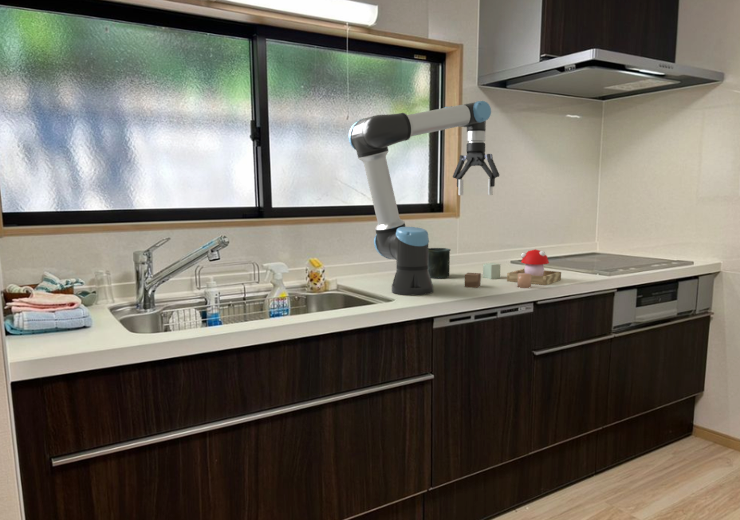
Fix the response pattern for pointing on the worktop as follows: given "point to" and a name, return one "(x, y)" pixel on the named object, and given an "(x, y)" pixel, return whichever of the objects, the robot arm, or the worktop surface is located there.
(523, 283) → the peach rounded block
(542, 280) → the bamboo tray
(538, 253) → the mushroom
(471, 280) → the walnut block
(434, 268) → the mug
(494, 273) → the sage block
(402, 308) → the worktop surface
